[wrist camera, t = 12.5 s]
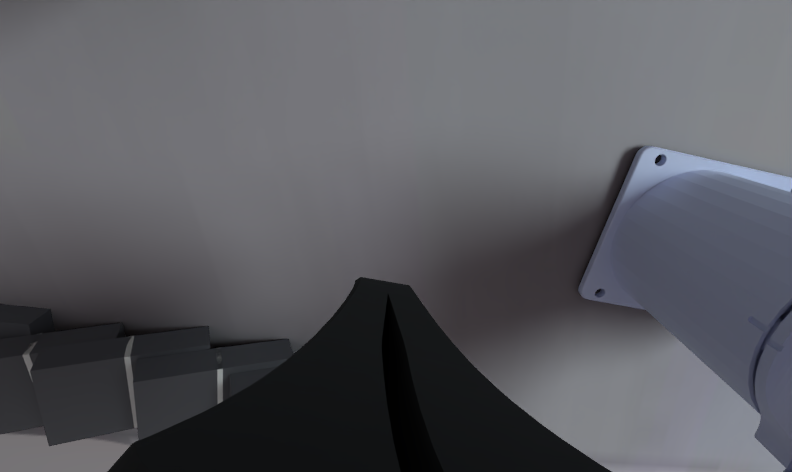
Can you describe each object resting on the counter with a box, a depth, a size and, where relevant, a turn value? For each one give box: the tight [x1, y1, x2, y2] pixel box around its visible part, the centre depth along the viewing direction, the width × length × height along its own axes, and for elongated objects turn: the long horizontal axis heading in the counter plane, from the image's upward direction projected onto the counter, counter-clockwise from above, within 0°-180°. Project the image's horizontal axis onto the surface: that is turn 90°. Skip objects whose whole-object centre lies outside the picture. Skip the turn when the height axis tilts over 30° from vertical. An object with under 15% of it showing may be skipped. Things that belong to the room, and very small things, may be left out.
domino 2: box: [30, 326, 210, 446], centre depth 20 cm, size 2×4×7 cm
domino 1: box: [133, 339, 293, 440], centre depth 21 cm, size 2×4×7 cm
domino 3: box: [0, 323, 126, 434], centre depth 20 cm, size 2×4×7 cm
